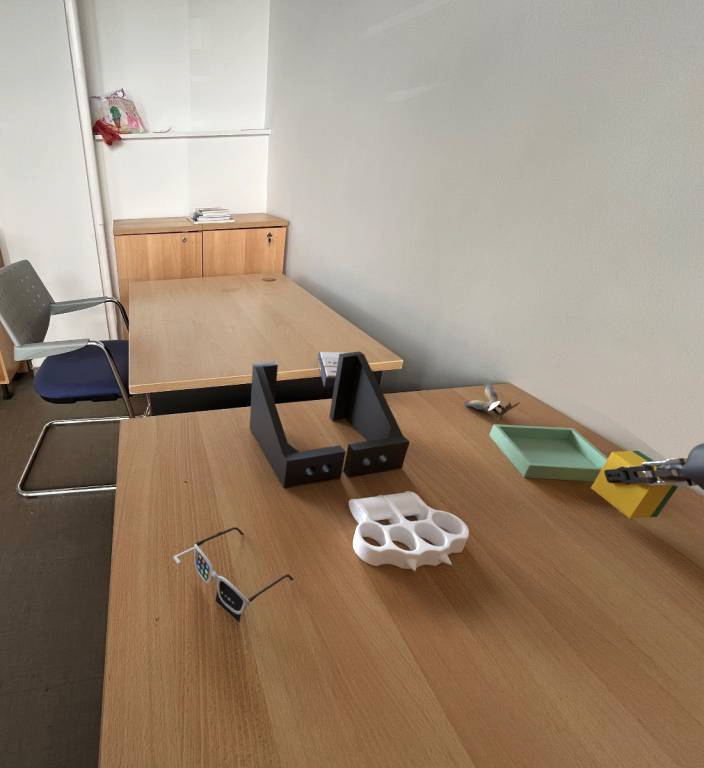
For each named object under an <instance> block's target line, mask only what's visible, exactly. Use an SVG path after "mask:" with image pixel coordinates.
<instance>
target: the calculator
mask: <svg viewBox="0 0 704 768" xmlns="http://www.w3.org/2000/svg"><path fill="white" fill-rule="evenodd" d="M342 353H343V352H336V351H335V352H333V351H320V352H319V351H318V356H317V360H319V363H320V366H321V373H320V377H321V380H322V384H323V387H324V388H331V389H332V388H333V389H334V384H335V378H336V371H337V365H338V359H339V354H342Z"/></svg>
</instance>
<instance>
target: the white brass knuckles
mask: <svg viewBox="0 0 704 768" xmlns="http://www.w3.org/2000/svg"><path fill="white" fill-rule="evenodd" d="M348 508H349V511H350V513H351V514H352V517H353V518H354V520H355V521H356V522H357V524H358V525H357V526H356V529H355V532H354V535H353V540H352V548H353V551H354V553H355V554H356V556H357V557H359V559H361V561H362V562H364V563H366V564H368V565H371V566H372V567H373V566H374V567H379V566H381V565H382V566H383V565H391V566H395V567H398V568H400V569H403V570H404V569H405V570H412V571H414V572H416V570H417V569H418V568H419V567H421V566H433V567H436V566H438V565H440V564H442V563H444V564H447V565H448V566H449V565H450V566H453V564H452V562H451V559H450V557H449V555H450V554H461V553H462V552H463V550H464V549H465V546H466V544H467V543H468V542H467V541H468V539H469V537H470V530H469V527H468V526H467V524H466V523H465V522H464V521H463V520H462V519H461V518H460V517H459V516H456V515H454V514H453V513H450V512H448V511H444V510H438V509H435V508H432V507H430V506H429V505H427V504H426V503H425V502H424V500H422V498H421V497H420V496H419V495H418V494H417V493H416V492H414V491H410V490H407V491H404V492H398V493H391V494H384V495H383V494H378V495H377V496H371V497H363V498H362V497H361V498H350V499H349V500H348ZM411 516H414V517H415V518H416V520H413V521H412V520H408V519H407V518H406V517H411ZM384 520H386V521H387V522H388V523H389V524H387V525H384V524H381V523H380V522H379V521H384ZM364 538H369V539H373V540H374V541H376V542H377V543H378V544H379V545H380V546H377V545H376V546H375V545H372V544H370V543H369V542H367V541H366V540H364ZM424 539H425V540H427V541H429V542H431V543H432V544H430V543H428V542H427V541H425V540H424ZM394 542H399V543H401V544H403V545H405V546H406V547H407V548H408V549H409V550H405V549H403V548H400V547H399V546H397V545H396V544H395V543H394Z"/></svg>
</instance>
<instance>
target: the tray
mask: <svg viewBox="0 0 704 768" xmlns="http://www.w3.org/2000/svg"><path fill="white" fill-rule="evenodd" d="M489 438H491V440H492V441H493V442H494V443H495V444H496V445H497V447H498V449H500V451H501V452H502V453H503V454H504V456H506V458H507V459H508V460H509V461H510V462H511V464H512V465H513V466H514V468H516V470H517V471H518V472H519V474H521V476H523V478H529V479H545V480H559V481H560V480H561V481H577V482H590V483H591V482H592V483H594V482H595V480H596V478H597V477H598V475H599V473H600V471H601V470H602V468H603V466H604V465H605V463H606V461H607V459H608V458H609V457H607V455H605V454H604V453H603V452H602V451H600V449H598V448H597V447H596V446H595V445H594V444H592V443H591V442H590V441H589V440H588V439H586V437H584V436H583V435H582V434H581V433H580V432H579V431H578V430H576V429H575V428H573V427H558V426H557V427H555V426H535V425H534V426H533V425H514V424H513V425H512V424H496V423H495V424H494V423H493V425H492V427H491V430H490V433H489Z"/></svg>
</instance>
